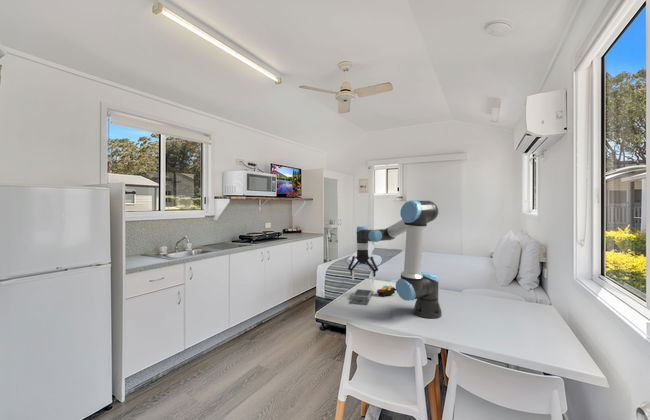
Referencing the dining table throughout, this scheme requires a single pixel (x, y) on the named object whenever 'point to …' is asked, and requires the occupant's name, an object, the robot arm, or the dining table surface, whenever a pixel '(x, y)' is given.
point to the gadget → (386, 290)
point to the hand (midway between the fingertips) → (363, 280)
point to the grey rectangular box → (361, 297)
